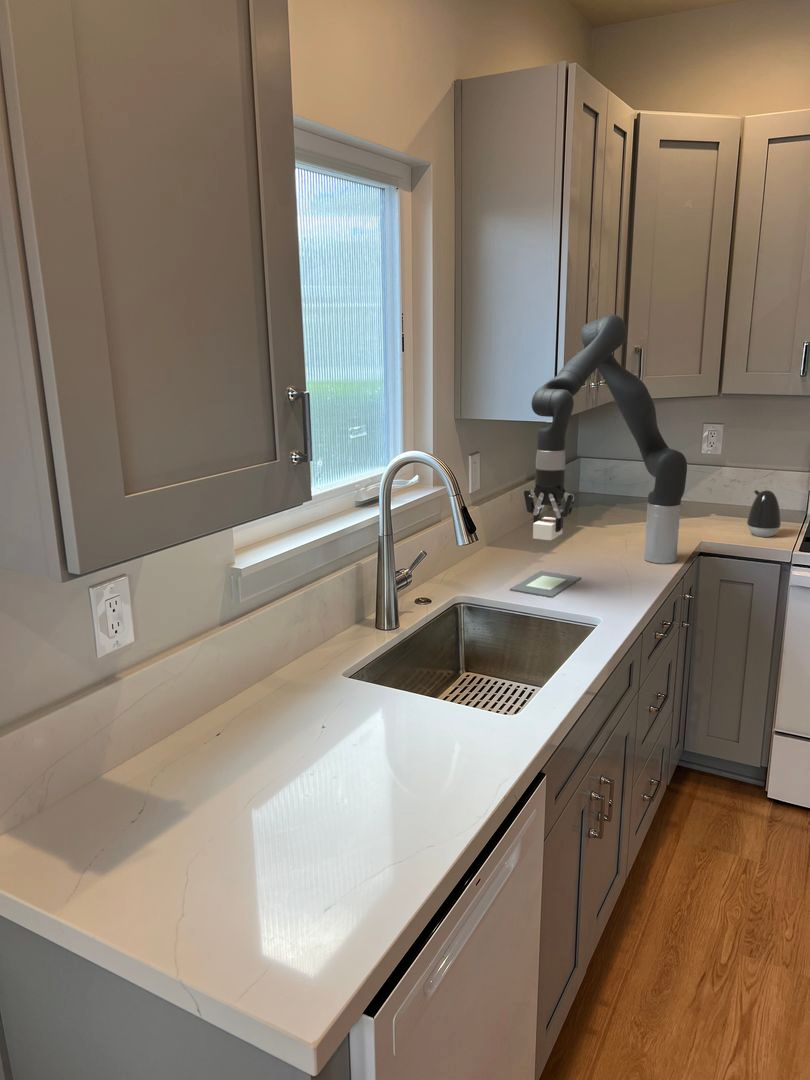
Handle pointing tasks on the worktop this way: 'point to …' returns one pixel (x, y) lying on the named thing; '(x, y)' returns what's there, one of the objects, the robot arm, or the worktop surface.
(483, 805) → the worktop surface
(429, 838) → the worktop surface
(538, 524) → the card deck
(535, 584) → the mat
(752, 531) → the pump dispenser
